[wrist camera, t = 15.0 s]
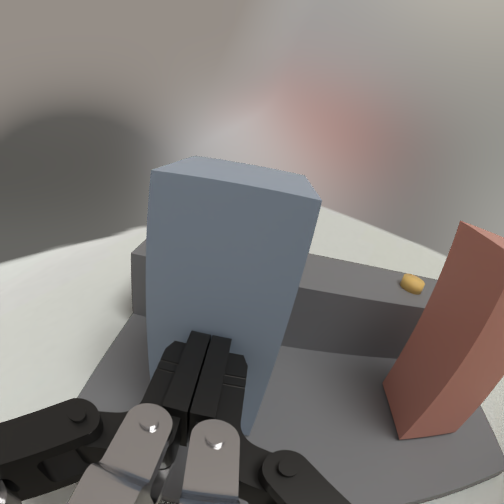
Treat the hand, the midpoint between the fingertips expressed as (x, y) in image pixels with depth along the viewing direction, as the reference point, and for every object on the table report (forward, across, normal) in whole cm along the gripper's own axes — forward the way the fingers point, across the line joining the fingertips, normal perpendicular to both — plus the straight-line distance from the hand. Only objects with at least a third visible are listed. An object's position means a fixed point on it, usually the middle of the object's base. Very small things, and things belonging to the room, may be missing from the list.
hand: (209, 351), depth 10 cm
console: (+5, -7, +7) cm, 11 cm away
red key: (+3, -14, +6) cm, 15 cm away
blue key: (+2, 0, +6) cm, 6 cm away
